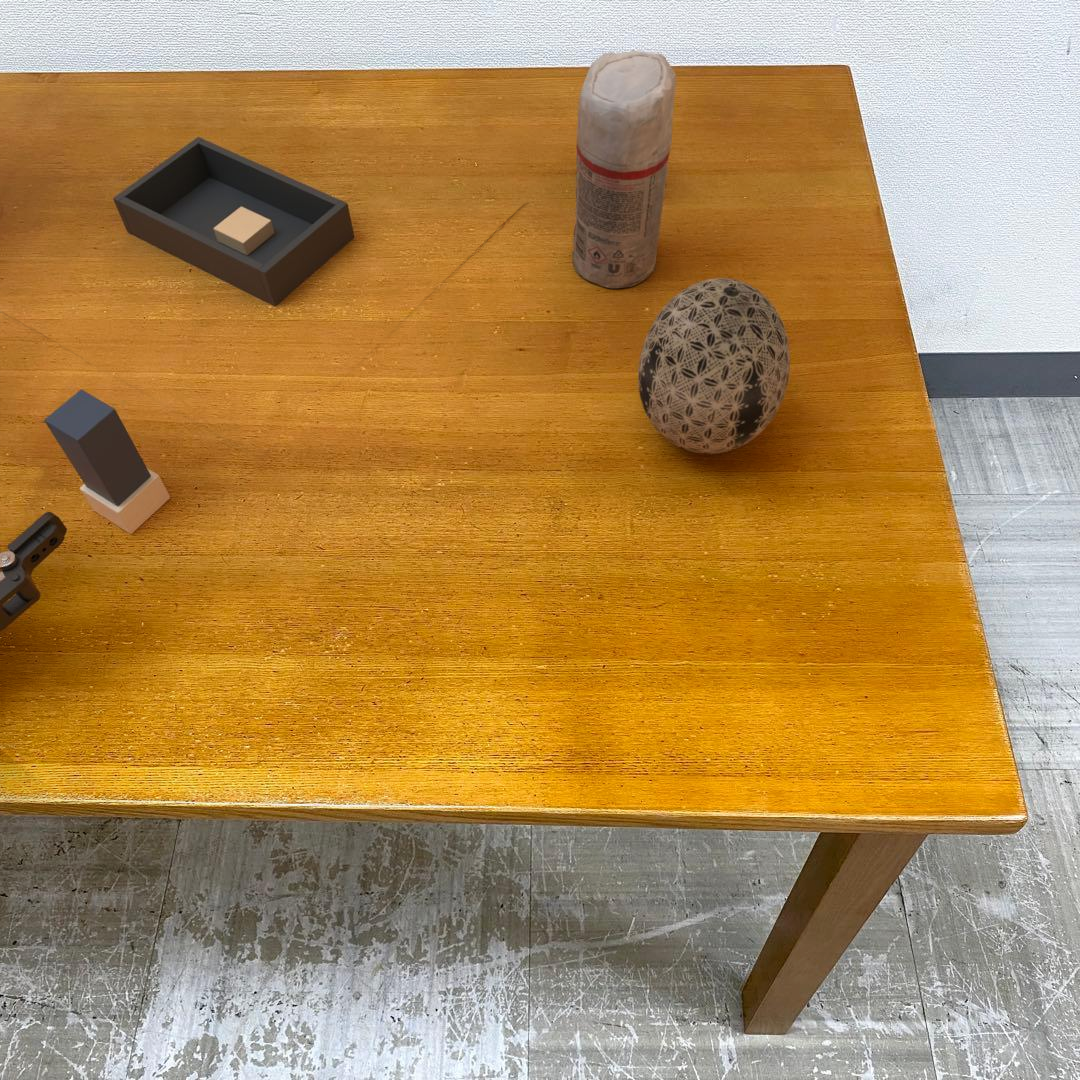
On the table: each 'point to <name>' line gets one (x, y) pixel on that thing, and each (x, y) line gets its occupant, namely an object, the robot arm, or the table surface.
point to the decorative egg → (714, 366)
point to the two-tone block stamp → (106, 461)
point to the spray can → (622, 166)
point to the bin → (214, 194)
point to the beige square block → (244, 230)
